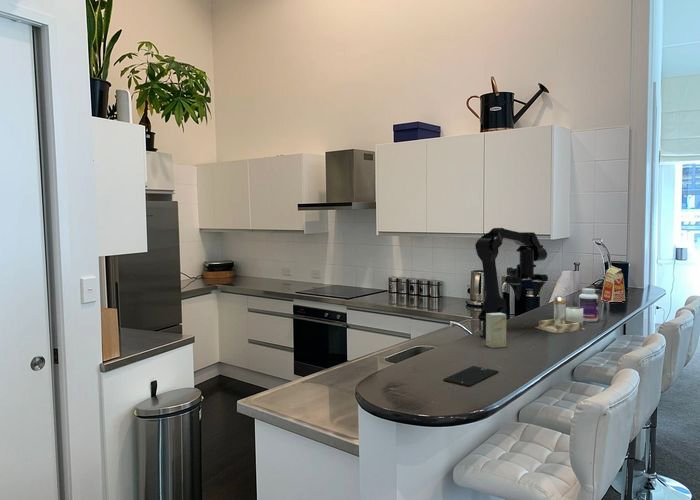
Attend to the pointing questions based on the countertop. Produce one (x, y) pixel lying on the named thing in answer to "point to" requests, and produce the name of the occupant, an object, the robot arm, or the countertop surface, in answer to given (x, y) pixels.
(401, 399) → the countertop surface
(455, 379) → the cell phone
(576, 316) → the white rounded cylinder
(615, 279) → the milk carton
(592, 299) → the pill bottle
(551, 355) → the countertop surface
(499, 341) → the skincare box
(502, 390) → the countertop surface
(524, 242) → the robot arm
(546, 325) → the cradle
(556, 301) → the cell
